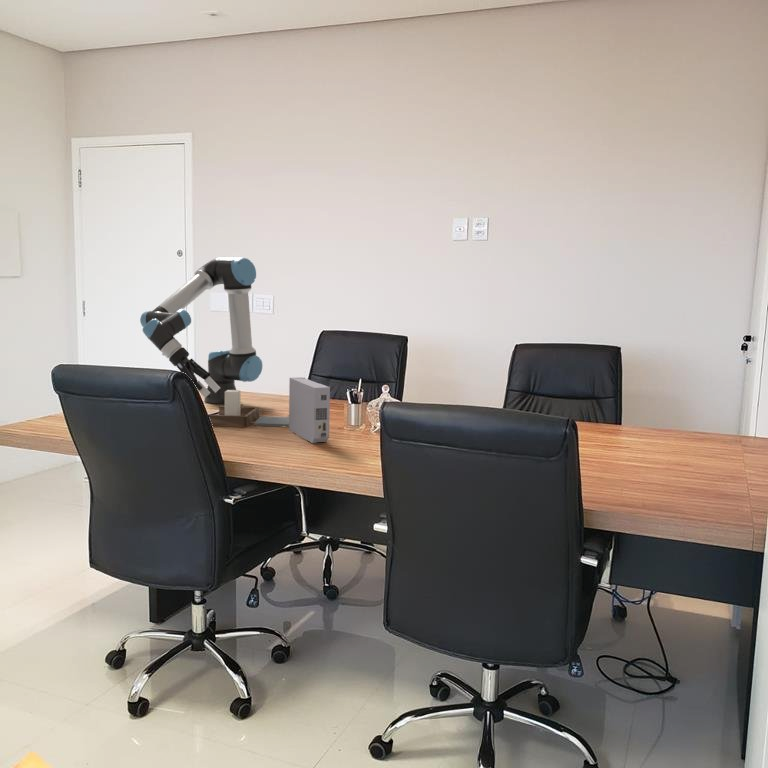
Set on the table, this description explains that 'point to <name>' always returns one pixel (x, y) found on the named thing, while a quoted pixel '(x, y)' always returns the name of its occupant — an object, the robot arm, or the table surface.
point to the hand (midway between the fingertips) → (213, 392)
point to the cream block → (232, 402)
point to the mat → (272, 421)
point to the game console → (309, 409)
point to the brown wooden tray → (235, 417)
